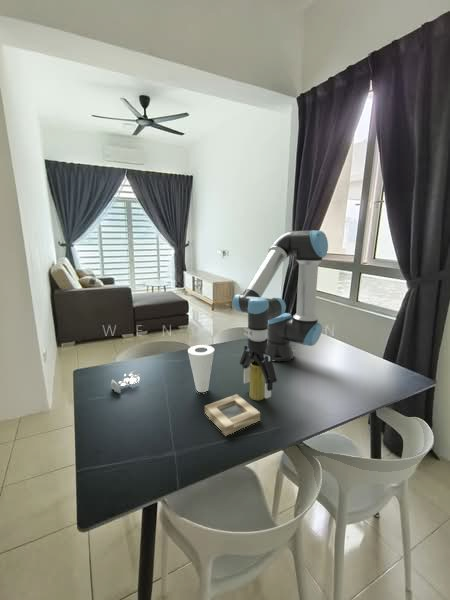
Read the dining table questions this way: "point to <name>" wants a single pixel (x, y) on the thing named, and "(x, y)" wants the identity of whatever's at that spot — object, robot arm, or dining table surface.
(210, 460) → the dining table surface
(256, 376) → the vase
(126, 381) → the figurine
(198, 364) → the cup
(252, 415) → the square wooden frame
